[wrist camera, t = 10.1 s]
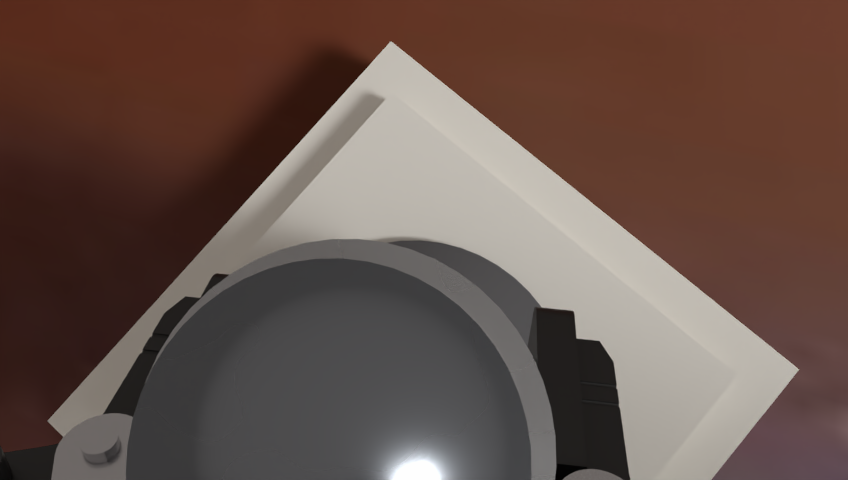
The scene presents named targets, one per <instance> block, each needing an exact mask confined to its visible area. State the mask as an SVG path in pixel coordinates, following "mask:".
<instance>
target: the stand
mask: <svg viewBox="0 0 848 480" xmlns="http://www.w3.org/2000/svg"><path fill="white" fill-rule="evenodd" d="M329 239H362V240H370V241H378V242H385V243H389V244H393V245H397V246H401V247H405V248H408V249H411V250H414V251H416V252H419V253H421V254H424V255H426V256H429V257H431V258H434V259H436V260H438V261H439V262H441V263H443V264H445V265H446V266H448V267H450V268H452V269H454V270H455V271H457V272H459V273H460V274H461V275H463V276H464V277H465V278H467V279H468V280H469V281H471V282H472V283H473V284H475V285H476V286H477V287H479V288H480V289H481V290H482V291H483V292H484V293H485V294H486V295H487V296H488V297H489V298H490V299H491V300H492V301H493V302H494V303H495V304H496V305H497V306H498V307H499V308H500V309H501V310H502V311H503V313H504V314H505V315H506V316H507V318H508V319H509V320H510V321H511V323H512V324H513V325H514V326H515V328H516V329H517V330H518V332H519V334H520V335H521V337H522V339H523V340H524V342H525V344H526V346H528V340H529V334H530V328H531V322H532V317H533V311H534V308H535V307H542V308H551V309H561V310H571V311H574V315H575V326H576V338H577V339H586V340H596V341H600V342H601V344H602V345H603V347H604V348H605V350H606V351H607V353H608V354H609V356H610V357H611V359H612V360H613V362H614V369H615V376H616V383H617V386H616V389H617V390H618V398H619V408H620V412H621V419H622V426H623V434H624V441H625V448H626V455H627V462H628V469H629V476H630V480H711V479H712V478H713V477H714V476H715V474H716V473H717V472H718V471H719V469H720V468H721V467H722V466H723V464H724V463H725V462H726V461H727V459H728V458H729V457H730V456H731V454H732V453H733V452H734V451H735V449H736V448H737V447H738V446H739V444H740V443H741V442H742V441H743V439H744V438H745V437H746V436H747V434H748V433H749V432H750V431H751V429H752V428H753V427H754V426H755V424H756V423H757V422H758V421H759V419H760V418H761V417H762V416H763V414H764V413H765V412H766V411H767V409H768V408H769V407H770V406H771V404H772V403H773V402H774V401H775V399H776V398H777V397H778V396H779V394H780V393H781V392H782V391H783V389H784V388H785V387H786V385H787V384H788V383H789V382H790V380H791V379H792V378H793V377H794V375H795V374H796V373H797V372H798V370H799V369H798V368H797V367H795V366H794V365H793V364H792V363H790V362H789V361H788V360H787V359H785V358H784V357H783V356H782V355H780V354H779V353H778V352H777V351H775V350H774V349H773V348H772V347H771V346H769V345H768V344H767V343H766V342H764V341H763V340H762V339H761V338H759V337H758V336H757V335H756V334H754V333H753V332H752V331H751V330H749V329H748V328H747V327H746V326H744V325H743V324H742V323H741V322H739V321H738V320H737V319H736V318H734V317H733V316H732V315H731V314H729V313H728V312H727V311H726V310H724V309H723V308H722V307H721V306H720V305H718V304H717V303H716V302H715V301H713V300H712V299H711V298H710V297H708V296H707V295H706V294H705V293H703V292H702V291H701V290H700V289H698V288H697V287H696V286H695V285H693V284H692V283H691V282H690V281H688V280H687V279H686V278H685V277H683V276H682V275H681V274H680V273H678V272H677V271H676V270H675V269H673V268H672V267H671V266H670V265H669V264H667V263H666V262H665V261H664V260H662V259H661V258H660V257H659V256H657V255H656V254H655V253H654V252H652V251H651V250H650V249H649V248H647V247H646V246H645V245H644V244H642V243H641V242H640V241H639V240H637V239H636V238H635V237H634V236H632V235H631V234H630V233H629V232H627V231H626V230H625V229H624V228H622V227H621V226H620V225H619V224H618V223H616V222H615V221H614V220H613V219H611V218H610V217H609V216H608V215H606V214H605V213H604V212H603V211H601V210H600V209H599V208H598V207H596V206H595V205H594V204H593V203H591V202H590V201H589V200H588V199H586V198H585V197H584V196H583V195H581V194H580V193H579V192H578V191H576V190H575V189H574V188H573V187H572V186H570V185H569V184H568V183H567V182H565V181H564V180H563V179H562V178H560V177H559V176H558V175H557V174H555V173H554V172H553V171H552V170H550V169H549V168H548V167H547V166H545V165H544V164H543V163H542V162H540V161H539V160H538V159H537V158H535V157H534V156H533V155H532V154H530V153H529V152H528V151H527V150H525V149H524V148H523V147H522V146H521V145H519V144H518V143H517V142H516V141H514V140H513V139H512V138H511V137H509V136H508V135H507V134H506V133H504V132H503V131H502V130H501V129H499V128H498V127H497V126H496V125H494V124H493V123H492V122H491V121H489V120H488V119H487V118H486V117H484V116H483V115H482V114H481V113H479V112H478V111H477V110H476V109H474V108H473V107H472V106H471V105H470V104H468V103H467V102H466V101H465V100H463V99H462V98H461V97H460V96H458V95H457V94H456V93H455V92H453V91H452V90H451V89H450V88H448V87H447V86H446V85H445V84H443V83H442V82H441V81H440V80H438V79H437V78H436V77H435V76H433V75H432V74H431V73H430V72H428V71H427V70H426V69H425V68H423V67H422V66H421V65H420V64H419V63H417V62H416V61H415V60H414V59H412V58H411V57H410V56H409V55H407V54H406V53H405V52H404V51H402V50H401V49H400V48H399V47H397V46H396V45H395V44H394V43H392V42H390V43H389V44H388V45H387V46H386V47H385V48H384V50H383V51H382V52H381V53H380V54H379V55H378V56H377V57H376V58H375V59H374V61H373V62H372V63H371V64H370V65H369V66H368V67H367V68H366V69H365V70H364V72H363V73H362V74H361V75H360V76H359V77H358V78H357V79H356V80H355V82H354V83H353V84H352V85H351V86H350V87H349V88H348V89H347V90H346V91H345V93H344V94H343V95H342V96H341V97H340V98H339V99H338V100H337V101H336V103H335V104H334V105H333V106H332V107H331V108H330V109H329V110H328V111H327V112H326V114H325V115H324V116H323V117H322V118H321V119H320V120H319V121H318V122H317V124H316V125H315V126H314V127H313V128H312V129H311V130H310V131H309V132H308V133H307V135H306V136H305V137H304V138H303V139H302V140H301V141H300V142H299V143H298V145H297V146H296V147H295V148H294V149H293V150H292V151H291V152H290V153H289V154H288V156H287V157H286V158H285V159H284V160H283V161H282V162H281V163H280V164H279V166H278V167H277V168H276V169H275V170H274V171H273V172H272V173H271V174H270V175H269V177H268V178H267V179H266V180H265V181H264V182H263V183H262V184H261V185H260V187H259V188H258V189H257V190H256V191H255V192H254V193H253V194H252V195H251V196H250V198H249V199H248V200H247V201H246V202H245V203H244V204H243V205H242V206H241V208H240V209H239V210H238V211H237V212H236V213H235V214H234V215H233V216H232V217H231V219H230V220H229V221H228V222H227V223H226V224H225V225H224V226H223V227H222V229H221V230H220V231H219V232H218V233H217V234H216V235H215V236H214V237H213V238H212V240H211V241H210V242H209V243H208V244H207V245H206V246H205V247H204V248H203V250H202V251H201V252H200V253H199V254H198V255H197V256H196V257H195V258H194V259H193V261H192V262H191V263H190V264H189V265H188V266H187V267H186V268H185V269H184V271H183V272H182V273H181V274H180V275H179V276H178V277H177V278H176V279H175V280H174V282H173V283H172V284H171V285H170V286H169V287H168V288H167V289H166V290H165V291H164V293H163V294H162V295H161V296H160V297H159V298H158V299H157V300H156V301H155V303H154V304H153V305H152V306H151V307H150V308H149V309H148V310H147V311H146V312H145V314H144V315H143V316H142V317H141V318H140V319H139V320H138V321H137V322H136V324H135V325H134V326H133V327H132V328H131V329H130V330H129V331H128V332H127V333H126V335H125V336H124V337H123V338H122V339H121V340H120V341H119V342H118V343H117V345H116V346H115V347H114V348H113V349H112V350H111V351H110V352H109V353H108V354H107V356H106V357H105V358H104V359H103V360H102V361H101V362H100V363H99V364H98V366H97V367H96V368H95V369H94V370H93V371H92V372H91V373H90V374H89V375H88V377H87V378H86V379H85V380H84V381H83V382H82V383H81V384H80V385H79V387H78V388H77V389H76V390H75V391H74V392H73V393H72V394H71V395H70V396H69V398H68V399H67V400H66V401H65V402H64V403H63V404H62V405H61V406H60V408H59V409H58V410H57V411H56V412H55V413H54V414H53V415H52V416H51V417H50V419H49V420H48V422H49V423H50V424H51V425H52V426H53V427H54V428H55V429H56V430H57V431H58V432H59V433H60V434H61V435H62V436H63V437H64V436H65V435H66V434H67V433H68V432H69V431H70V430H71V429H72V428H74V427H75V426H76V425H78V424H80V423H81V422H83V421H85V420H87V419H89V418H92V417H95V416H98V415H102V414H103V413H104V412H105V410H106V408H107V407H108V405H109V404H110V402H111V400H112V399H113V397H114V395H115V394H116V392H117V390H118V389H119V387H120V385H121V384H122V382H123V380H124V379H125V377H126V375H127V374H128V372H129V371H130V369H131V367H132V366H133V364H134V362H135V361H136V359H137V357H138V356H139V354H140V353H142V351H143V347H144V346H145V344H146V342H147V341H148V339H149V338H150V337H152V333H153V331H154V329H155V328H156V326H157V324H158V323H159V321H160V319H161V318H162V316H163V314H164V313H165V312H166V311H167V310H169V309H170V308H171V307H173V306H174V305H175V304H176V303H178V302H179V301H180V300H182V299H183V298H184V297H185V296H187V297H196V298H200V297H201V295H202V294H203V292H204V290H205V288H206V286H207V285H208V283H209V281H210V279H211V278H212V276H213V275H214V274H216V273H219V274H229V275H230V274H231V273H233V272H235V271H236V270H238V269H240V268H242V267H243V266H245V265H247V264H249V263H250V262H252V261H254V260H256V259H258V258H261V257H263V256H266V255H268V254H271V253H273V252H275V251H278V250H281V249H284V248H288V247H292V246H295V245H299V244H303V243H308V242H315V241H322V240H329Z"/></svg>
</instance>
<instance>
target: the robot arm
mask: <svg viewBox="0 0 848 480" xmlns="http://www.w3.org/2000/svg"><path fill="white" fill-rule="evenodd" d="M227 276H229V274H219V273H216V274H214V275H213V276H212V278H211V279H210V281H209V283H208V285H207V286H206V288H205V290H204V292H203V294H202V295H201V297H200V298H196V297H187V296H185V297H184V298H183V299H182V300H180V301H179V302H178V303H176V304H175V305H174V306H173V307H171V308H170V309H169V310H167V311H166V312H165V313H164V314H163V316H162V318H161V319H160V321H159V323H158V324H157V326H156V328H155V329H154V331H153V333H152V337H150V338H149V339H148V341H147V342H146V344H145V346H144V347H143V351H142V353H140V354H139V356H138V357H137V359H136V361H135V362H134V364H133V366H132V367H131V369H130V371H129V372H128V374H127V375H126V377H125V379H124V380H123V382H122V384H121V385H120V387H119V389H118V390H117V392H116V394H115V395H114V397H113V399H112V400H111V402H110V404H109V405H108V407H107V408H106V410H105V412H104V413H103V414H102V415H98V416H95V417H92V418H89V419H87V420H85V421H83V422H81V423H80V424H78V425H76V426H75V427H74V428H72V429H71V430H70V431H69V432H68V433H67V434H66V435H65V436H64V437H63V438H62V440H61V441H60V443H59V444H55V445H50V446H45V447H39V448H32V449H26V450H19V451H13V452H6V453H4V452H3V450H2V448H1V446H0V480H126V460H127V445H128V440H129V435H130V430H131V424H132V419H133V416H134V413H135V410H136V406H137V403H138V400H139V397H140V394H141V391H142V389H143V387H144V385H145V382H146V379H147V377H148V375H149V373H150V370H151V368H152V366H153V364H154V362H155V359H156V357H157V355H158V353H159V352H160V350H161V348H162V347H163V345H164V344H165V342H166V340H167V339H168V337H169V335H170V334H171V332H172V331H173V329H174V328H175V327H176V326H177V324H178V323H179V322H180V321H181V319H182V318H183V317H184V316H185V314H186V313H187V312H188V311H189V309H190V308H191V307H192V306H193V305H194V304H195V303H196V302H198V301H199V300H200V299H201V298H202V297H203V296H204V295H205V294H206V293H207V292H208V291H209V290H210V289H211V288H213V287H214V286H215V285H217V284H218V283H219V282H221V281H222V280H223V279H225V278H226V277H227ZM527 347H528V349H529V351H530V352H531V354H532V356H533V358H534V361H535V363H536V365H537V368H538V370H539V372H540V375H541V377H542V379H543V382H544V385H545V389H546V392H547V396H548V399H549V403H550V406H551V411H552V417H553V424H554V430H555V437H556V474H555V480H630V476H629V469H628V462H627V455H626V448H625V441H624V434H623V426H622V419H621V412H620V408H619V398H618V390H617V389H616V386H617V383H616V376H615V369H614V362H613V360H612V359H611V357H610V356H609V354H608V353H607V351H606V350H605V348H604V347H603V345H602V344H601V342H600V341H596V340H586V339H577V338H576V326H575V315H574V311H571V310H561V309H551V308H542V307H535V308H534V311H533V317H532V322H531V328H530V334H529V340H528V346H527Z"/></svg>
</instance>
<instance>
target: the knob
mask: <svg viewBox="0 0 848 480" xmlns="http://www.w3.org/2000/svg"><path fill="white" fill-rule="evenodd" d="M555 474H556V437H555V430H554V424H553V417H552V411H551V406H550V403H549V399H548V396H547V392H546V389H545V385H544V382H543V379H542V377H541V375H540V372H539V370H538V368H537V365H536V363H535V361H534V358H533V356H532V354H531V352H530V351H529V349H528V347H527V346H526V344H525V342H524V340H523V339H522V337H521V335H520V334H519V332H518V330H517V329H516V328H515V326H514V325H513V324H512V323H511V321H510V320H509V319H508V318H507V316H506V315H505V314H504V313H503V311H502V310H501V309H500V308H499V307H498V306H497V305H496V304H495V303H494V302H493V301H492V300H491V299H490V298H489V297H488V296H487V295H486V294H485V293H484V292H483V291H482V290H481V289H480V288H479V287H477V286H476V285H475V284H473V283H472V282H471V281H469V280H468V279H467V278H465V277H464V276H463V275H461V274H460V273H459V272H457V271H455V270H454V269H452V268H450V267H448V266H446V265H445V264H443V263H441V262H439V261H438V260H436V259H434V258H431V257H429V256H426V255H424V254H421V253H419V252H416V251H414V250H411V249H408V248H405V247H401V246H397V245H393V244H389V243H385V242H378V241H370V240H362V239H329V240H322V241H315V242H308V243H303V244H299V245H295V246H292V247H288V248H284V249H281V250H278V251H275V252H273V253H271V254H268V255H266V256H263V257H261V258H258V259H256V260H254V261H252V262H250V263H249V264H247V265H245V266H243V267H242V268H240V269H238V270H236V271H235V272H233V273H231V274H230V275H229V276H227V277H226V278H225V279H223V280H222V281H221V282H219V283H218V284H217V285H215V286H214V287H213V288H211V289H210V290H209V291H208V292H207V293H206V294H205V295H204V296H203V297H202V298H201V299H200V300H199V301H198V302H196V303H195V304H194V305H193V306H192V307H191V308H190V309H189V311H188V312H187V313H186V314H185V316H184V317H183V318H182V319H181V321H180V322H179V323H178V324H177V326H176V327H175V328H174V329H173V331H172V332H171V334H170V335H169V337H168V339H167V340H166V342H165V344H164V345H163V347H162V348H161V350H160V352H159V353H158V355H157V357H156V359H155V362H154V364H153V366H152V368H151V370H150V373H149V375H148V377H147V379H146V382H145V385H144V387H143V389H142V391H141V394H140V397H139V400H138V403H137V406H136V410H135V413H134V416H133V419H132V424H131V430H130V435H129V440H128V445H127V460H126V480H555Z"/></svg>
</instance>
